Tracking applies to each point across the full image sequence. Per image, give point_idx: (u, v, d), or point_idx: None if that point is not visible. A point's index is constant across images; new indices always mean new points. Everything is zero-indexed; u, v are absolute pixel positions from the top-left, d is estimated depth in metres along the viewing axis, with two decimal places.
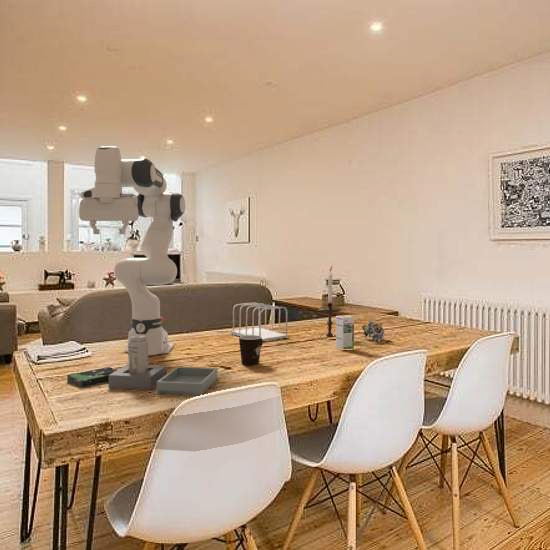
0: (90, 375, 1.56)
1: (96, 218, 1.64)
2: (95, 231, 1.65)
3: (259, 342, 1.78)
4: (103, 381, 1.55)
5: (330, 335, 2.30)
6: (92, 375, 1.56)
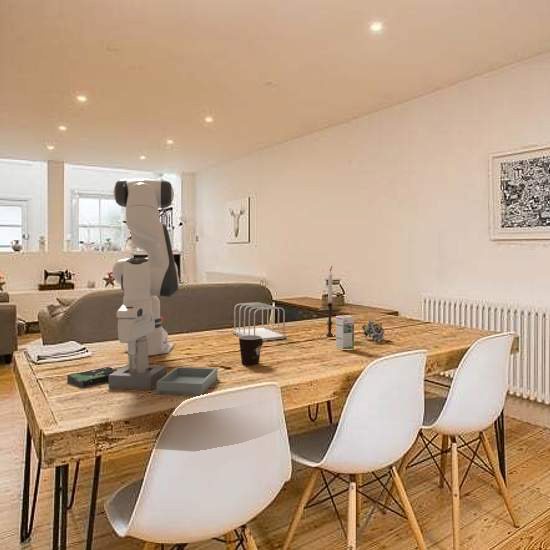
0: (90, 375, 1.56)
1: (138, 337, 1.50)
2: (136, 351, 1.51)
3: (259, 342, 1.78)
4: (104, 381, 1.55)
5: (330, 335, 2.30)
6: (92, 375, 1.56)
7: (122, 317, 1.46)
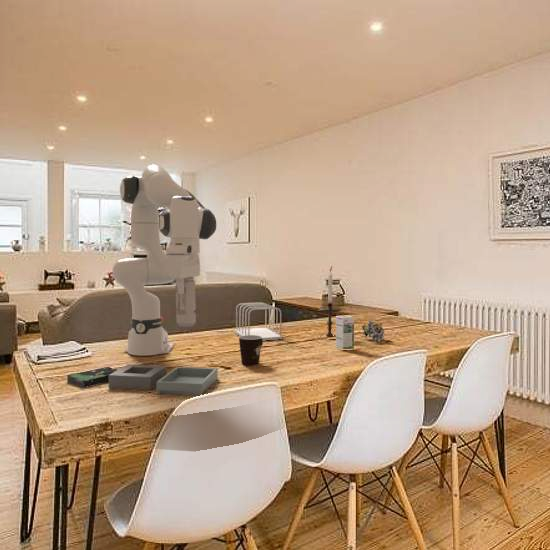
0: (91, 375, 1.56)
1: (187, 276, 1.46)
2: (184, 290, 1.46)
3: (259, 342, 1.78)
4: (104, 381, 1.55)
5: (330, 335, 2.30)
6: (93, 375, 1.56)
7: (172, 253, 1.41)
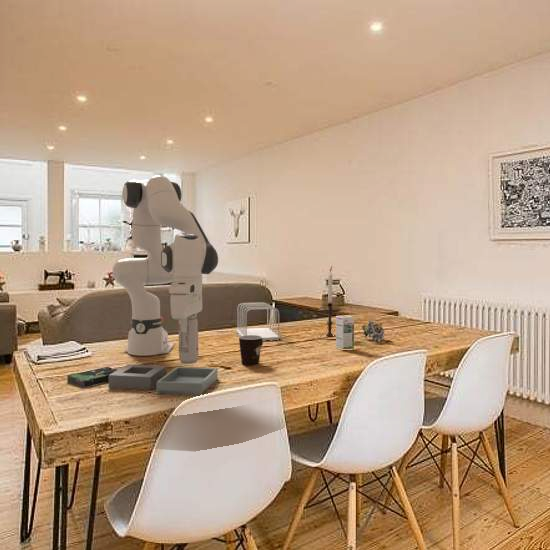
0: (91, 375, 1.56)
1: (189, 314, 1.47)
2: (187, 328, 1.47)
3: (259, 342, 1.78)
4: (104, 381, 1.55)
5: (330, 335, 2.30)
6: (93, 375, 1.56)
7: (175, 293, 1.42)
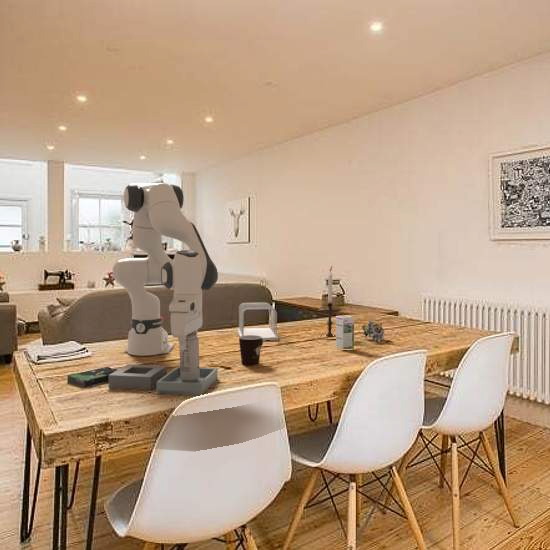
0: (91, 375, 1.56)
1: (190, 331, 1.47)
2: (186, 346, 1.46)
3: (259, 342, 1.78)
4: (105, 381, 1.55)
5: (330, 335, 2.30)
6: (93, 375, 1.56)
7: (175, 311, 1.42)
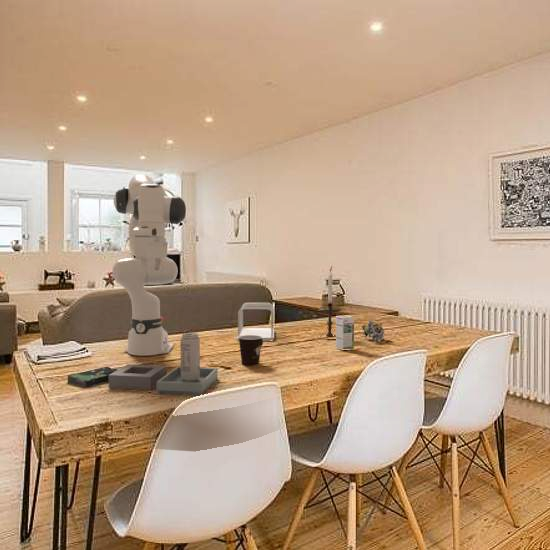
0: (91, 375, 1.56)
1: (152, 256, 1.61)
2: (149, 269, 1.60)
3: (259, 342, 1.78)
4: (105, 380, 1.55)
5: (330, 335, 2.30)
6: (93, 375, 1.56)
7: (138, 235, 1.56)
